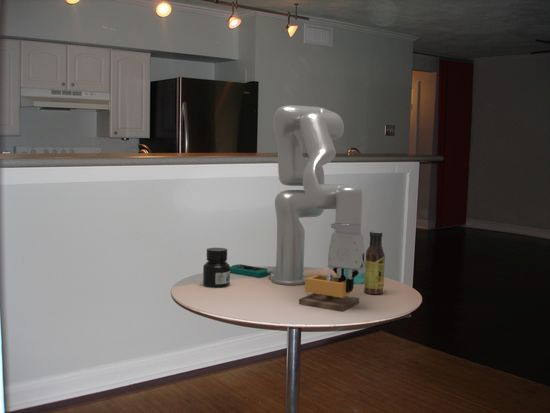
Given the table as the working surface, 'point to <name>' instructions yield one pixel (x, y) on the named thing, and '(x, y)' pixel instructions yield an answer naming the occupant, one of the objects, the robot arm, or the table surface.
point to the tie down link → (326, 286)
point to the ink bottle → (216, 268)
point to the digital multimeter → (249, 271)
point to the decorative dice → (358, 278)
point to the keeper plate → (329, 300)
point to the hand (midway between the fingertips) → (345, 290)
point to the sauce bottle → (374, 265)
